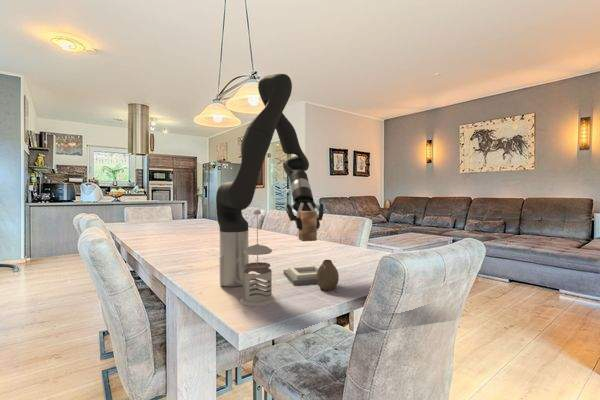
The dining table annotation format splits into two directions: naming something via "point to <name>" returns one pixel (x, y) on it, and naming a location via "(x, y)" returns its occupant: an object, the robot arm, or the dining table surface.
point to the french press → (256, 276)
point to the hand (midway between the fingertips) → (308, 228)
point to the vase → (327, 275)
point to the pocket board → (302, 274)
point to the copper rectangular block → (308, 226)
